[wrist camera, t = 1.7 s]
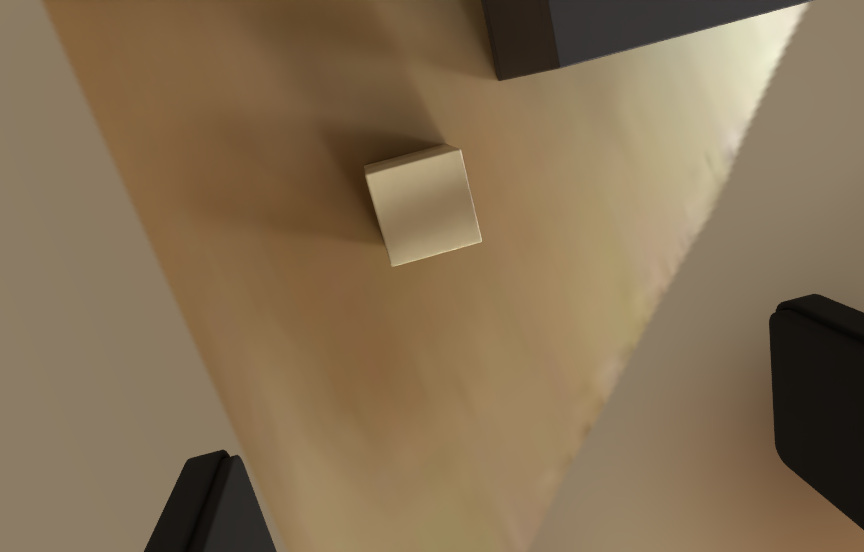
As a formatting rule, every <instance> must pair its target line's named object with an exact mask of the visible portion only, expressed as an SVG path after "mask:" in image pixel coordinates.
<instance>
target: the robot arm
mask: <svg viewBox="0 0 864 552" xmlns="http://www.w3.org/2000/svg"><path fill="white" fill-rule="evenodd" d="M769 329H770V351H771V371H772V390H773V391H772V392H773V411H774V432H775V446H776V450H777V452H778V454H779V456H780V458H781V460H782V461H783V462H784V463H785V464H786V465H787V466H788V467H789V468H790V469H791V470H792V471H794V472H795V473H796V474H797V475H798V476H800V477H801V478H802V479H803V480H804V481H806V482H807V483H808V484H809V485H810V486H812V487H813V488H814V489H815V490H816V491H818V492H819V493H820V494H821V495H823V496H824V497H825V498H826V499H827V500H829V501H830V502H831V503H832V504H833V505H834V506H836V507H837V508H838V509H839V510H840V511H842V512H843V513H844V514H845V515H846V516H848V517H849V518H850V519H852V521H854V522H855V523H856V524H857V525H858V526H860V527H861V528H862V529H863V530H864V313H863V312H861V311H858V310H856V309H853V308H850V307H848V306H845V305H843V304H841V303H839V302H836V301H833V300H831V299H829V298H826V297H824V296H821V295H818V294H812V295H807V296H803V297H800V298H796V299H792V300H788V301H784V302H781V303H780V304H779V305H778V306H777V309H776V312H775V313H773V314H772V315H771V317H770V320H769ZM144 552H276V549H275V546H274V544H273V541H272V538H271V536H270V533H269V531H268V528H267V525H266V522H265V520H264V517H263V514H262V512H261V509H260V506H259V504H258V501H257V498H256V496H255V493H254V490H253V488H252V485H251V482H250V480H249V477H248V474H247V472H246V469H245V466H244V464H243V461H242V459H241V458H240V457H239V456H238V455H235V456H231V457H230V456H229V454H228V453H227V451H225V450H220V451H216V452H213V453H208V454H205V455H201V456H197V457H193V458H190V459H188V460H187V462H186V463H185V465H184V467H183V469H182V471H181V474H180V476H179V478H178V480H177V482H176V484H175V487H174V489H173V491H172V493H171V495H170V497H169V499H168V501H167V503H166V506H165V508H164V510H163V512H162V514H161V516H160V518H159V520H158V523H157V525H156V527H155V529H154V531H153V533H152V535H151V538H150V540H149V542H148V544H147V546H146V548H145V550H144Z"/></svg>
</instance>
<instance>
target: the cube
mask: <svg viewBox="0 0 864 552" xmlns="http://www.w3.org/2000/svg"><path fill="white" fill-rule="evenodd" d="M364 169H365V177H366V181H367V184H368V188H369V191H370V195H371V198H372V202H373V205H374V209H375V212H376V216H377V219H378V223H379V226H380V229H381V233H382V236H383V240H384V243H385V247H386V250H387V254H388V257H389V261H390V264H391V266H392V267H394V266H397V265H401V264H404V263H408V262H412V261H415V260H419V259H422V258H426V257H429V256H433V255H437V254H440V253H444V252H447V251H451V250H455V249H458V248H462V247H465V246H469V245H472V244H476V243H480V242H482V238H481V234H480V229H479V225H478V221H477V217H476V212H475V208H474V204H473V200H472V195H471V191H470V187H469V183H468V178H467V174H466V170H465V166H464V161H463V157H462V153H461V150H460V149H458V148H456V147H453V146H450V145H448V144H443V145H439V146H436V147H432V148H428V149H425V150H421V151H417V152H413V153H410V154H406V155H402V156H399V157H395V158H391V159H388V160H384V161H380V162H377V163H373V164H369V165H365V166H364Z"/></svg>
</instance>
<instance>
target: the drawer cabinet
mask: <svg viewBox="0 0 864 552" xmlns="http://www.w3.org/2000/svg"><path fill="white" fill-rule="evenodd" d="M481 1H482V6H483V11H484V15H485V20H486V25H487V30H488V35H489V39H490V44H491V49H492V54H493V58H494V63H495V68H496V73H497V78H498V81H502V80H507V79H512V78H516V77H521V76H526V75H531V74H535V73H540V72H545V71H549V70H554V69H559V68H563V67H567V66H571V65H574V64H578V63H582V62H585V61H589V60H593V59H597V58H600V57H604V56H608V55H612V54H615V53H619V52H623V51H627V50H630V49H634V48H638V47H642V46H645V45H649V44H653V43H656V42H660V41H664V40H668V39H671V38H675V37H679V36H683V35H686V34H690V33H694V32H698V31H701V30H705V29H709V28H713V27H716V26H720V25H724V24H728V23H731V22H735V21H739V20H742V19H746V18H750V17H754V16H757V15H761V14H765V13H769V12H772V11H776V10H780V9H784V8H787V7H791V6H795V5H799V4H802V3H806V2H810V1H813V0H481Z"/></svg>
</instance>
